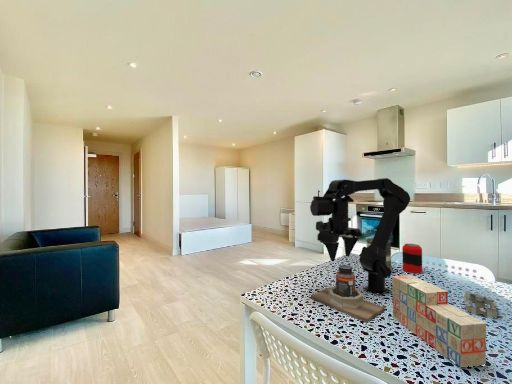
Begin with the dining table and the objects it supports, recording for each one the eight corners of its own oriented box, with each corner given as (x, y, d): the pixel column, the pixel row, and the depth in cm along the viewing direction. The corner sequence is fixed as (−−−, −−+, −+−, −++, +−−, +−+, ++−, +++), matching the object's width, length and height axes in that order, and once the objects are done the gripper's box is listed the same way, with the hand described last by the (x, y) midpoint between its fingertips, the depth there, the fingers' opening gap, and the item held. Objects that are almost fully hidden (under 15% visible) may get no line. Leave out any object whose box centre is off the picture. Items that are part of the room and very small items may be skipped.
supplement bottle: (357, 306, 76) (356, 269, 76) (337, 304, 77) (337, 269, 77) (353, 297, 82) (353, 264, 82) (335, 296, 83) (334, 263, 83)
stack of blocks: (487, 367, 51) (487, 309, 51) (460, 370, 50) (459, 310, 50) (411, 315, 72) (411, 274, 72) (392, 316, 71) (391, 275, 71)
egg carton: (497, 322, 68) (497, 307, 68) (462, 312, 73) (462, 299, 73) (496, 308, 76) (496, 295, 76) (465, 300, 81) (465, 288, 81)
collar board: (329, 290, 90) (329, 279, 90) (384, 310, 75) (384, 297, 75) (310, 298, 84) (310, 286, 84) (366, 322, 68) (366, 308, 68)
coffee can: (384, 266, 117) (383, 237, 117) (396, 274, 107) (395, 242, 107) (362, 267, 117) (362, 238, 117) (372, 274, 107) (372, 242, 107)
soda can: (399, 268, 115) (399, 243, 115) (416, 268, 114) (416, 243, 114) (407, 273, 108) (407, 246, 108) (425, 274, 107) (425, 247, 106)
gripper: (335, 211, 98) (335, 250, 98) (305, 215, 87) (305, 258, 87) (361, 213, 89) (362, 255, 89) (331, 217, 78) (332, 265, 78)
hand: (340, 258), depth 86 cm, fingers open, 9 cm apart
